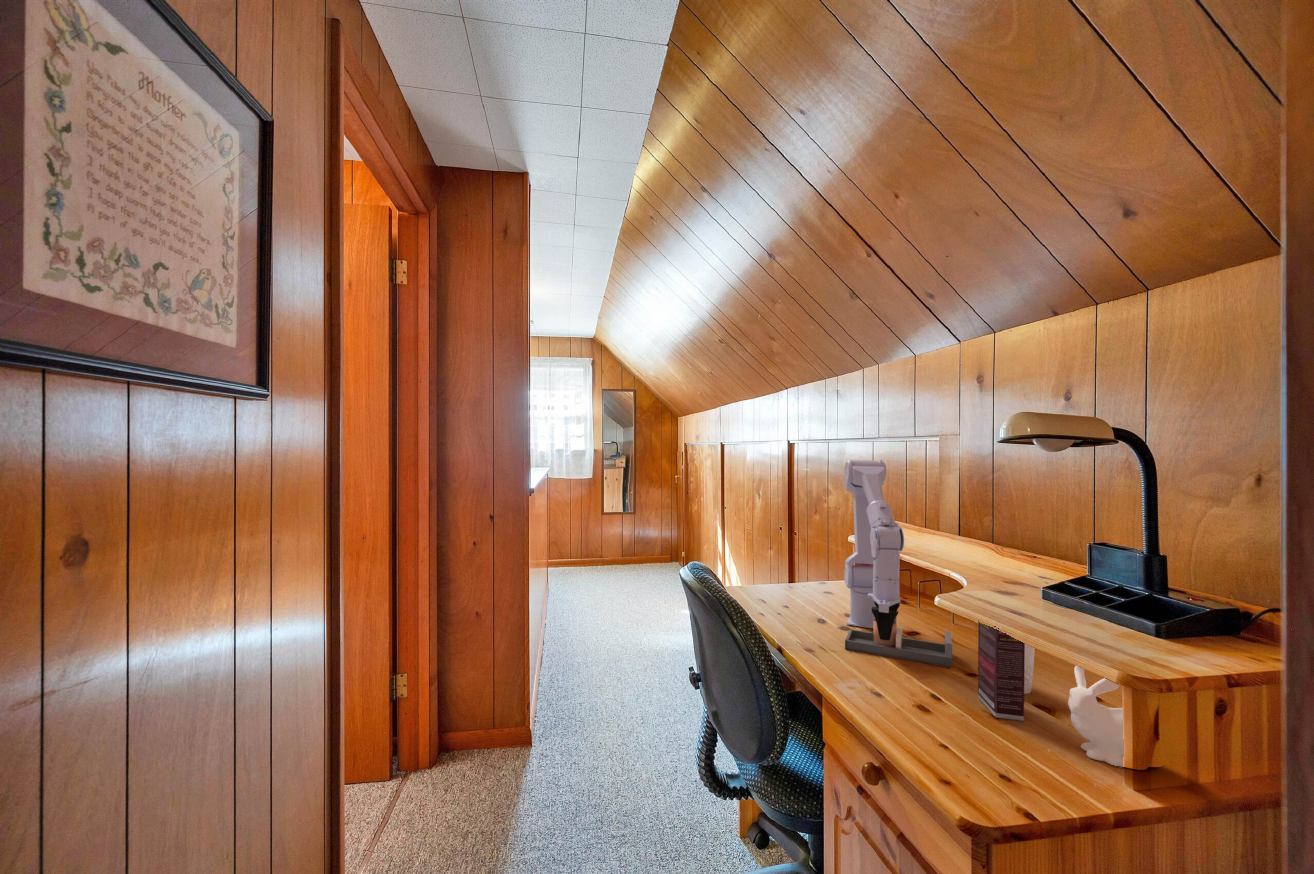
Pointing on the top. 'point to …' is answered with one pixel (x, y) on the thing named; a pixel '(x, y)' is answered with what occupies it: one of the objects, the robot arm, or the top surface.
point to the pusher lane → (904, 648)
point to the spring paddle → (899, 637)
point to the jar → (884, 642)
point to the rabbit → (1097, 720)
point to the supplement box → (1001, 673)
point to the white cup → (1028, 668)
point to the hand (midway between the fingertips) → (885, 635)
